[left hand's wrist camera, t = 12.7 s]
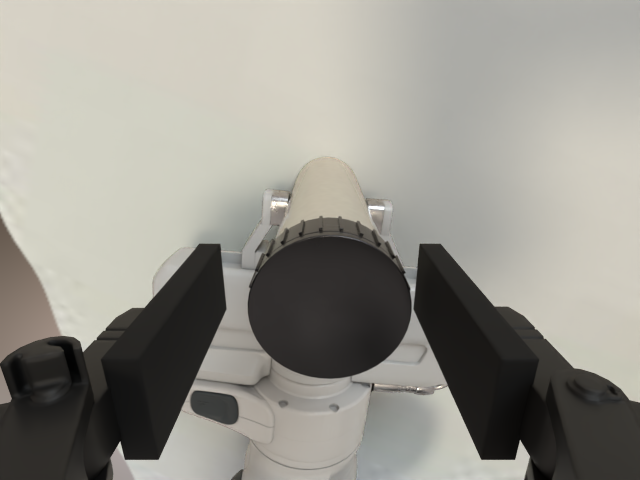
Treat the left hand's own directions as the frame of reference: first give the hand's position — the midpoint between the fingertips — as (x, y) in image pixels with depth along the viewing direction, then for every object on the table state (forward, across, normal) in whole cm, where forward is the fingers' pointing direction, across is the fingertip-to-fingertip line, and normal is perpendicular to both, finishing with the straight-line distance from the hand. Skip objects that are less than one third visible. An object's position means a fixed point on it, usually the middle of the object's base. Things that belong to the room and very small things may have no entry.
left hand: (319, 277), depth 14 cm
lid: (-2, 0, 0) cm, 2 cm away
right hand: (+9, 0, -1) cm, 9 cm away
